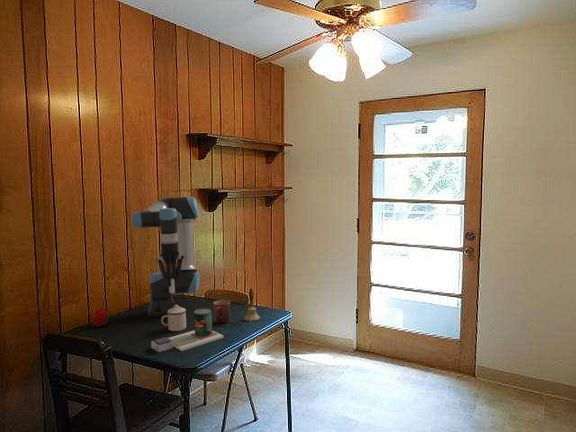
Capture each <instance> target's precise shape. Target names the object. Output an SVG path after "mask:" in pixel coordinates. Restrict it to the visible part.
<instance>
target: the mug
mask: <svg viewBox="0 0 576 432" xmlns="http://www.w3.org/2000/svg"><path fill="white" fill-rule="evenodd" d="M212 304H213V306H214V319H215V322H216V323H217V324H218V325H222V324H223V325H224V324H227V323H228V322H229V321H230V317H231V316H230V314H231V313H230V306H231V301H230V300H227V299H222V300H221V299H219V300H215V301H214V302H213V303H212Z"/></svg>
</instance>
